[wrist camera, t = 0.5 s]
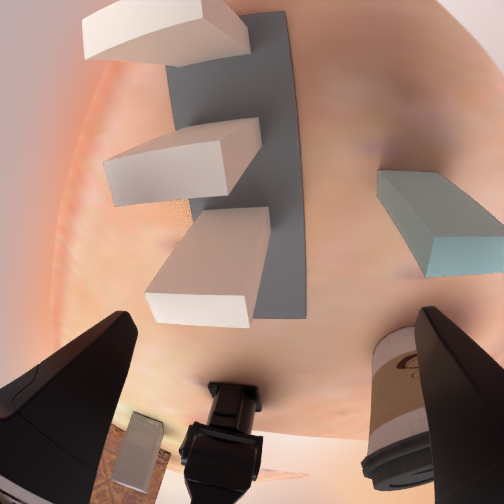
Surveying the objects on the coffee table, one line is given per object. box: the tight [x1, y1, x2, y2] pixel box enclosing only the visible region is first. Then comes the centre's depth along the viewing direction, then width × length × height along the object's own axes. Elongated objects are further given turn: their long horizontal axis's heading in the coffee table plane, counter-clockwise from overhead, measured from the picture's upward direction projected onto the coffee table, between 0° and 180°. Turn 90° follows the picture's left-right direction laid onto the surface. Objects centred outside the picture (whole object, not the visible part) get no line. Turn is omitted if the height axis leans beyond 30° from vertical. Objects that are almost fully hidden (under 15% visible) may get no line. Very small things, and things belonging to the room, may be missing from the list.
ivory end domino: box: [82, 0, 251, 67], centre depth 11 cm, size 2×5×10 cm, turn 97°
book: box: [90, 424, 171, 504], centre depth 46 cm, size 25×9×30 cm, turn 55°
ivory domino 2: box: [144, 207, 271, 328], centre depth 18 cm, size 2×5×10 cm, turn 97°
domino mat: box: [166, 11, 306, 319], centre depth 21 cm, size 25×8×1 cm, turn 7°
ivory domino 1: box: [103, 117, 262, 207], centre depth 14 cm, size 2×5×10 cm, turn 97°
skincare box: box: [111, 412, 164, 493], centre depth 42 cm, size 8×7×16 cm
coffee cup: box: [361, 326, 434, 491], centre depth 20 cm, size 11×11×15 cm
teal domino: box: [377, 170, 504, 278], centre depth 14 cm, size 2×5×10 cm, turn 96°
